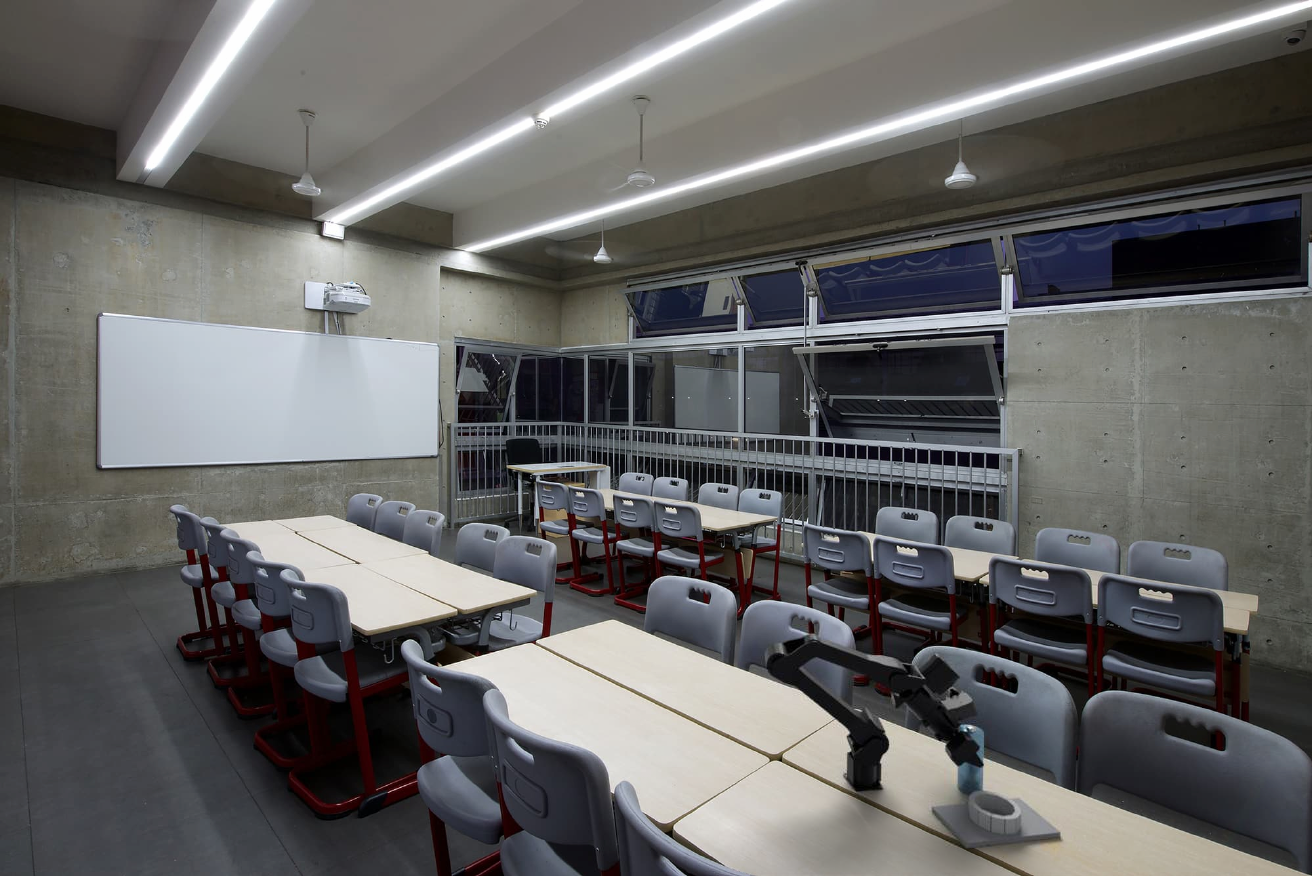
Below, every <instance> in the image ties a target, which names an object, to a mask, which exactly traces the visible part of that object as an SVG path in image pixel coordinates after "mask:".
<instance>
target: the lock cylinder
mask: <svg viewBox="0 0 1312 876" xmlns="http://www.w3.org/2000/svg"><path fill="white" fill-rule="evenodd" d="M958 730H959V731H960V732H968V733H969V734H970V735H971V736H972V737H973V739H974V740H975V741H976V742H977V743H978V745H979V746H980V749H979V751H977V752H976V753H977V754H978V756H979V757H980V759H981V760H982V762H983V763H984V754H985V753H984V750H985V747H984V745H985V731H984V730H983V729H982V728H980V727H979V726H975V725H972V724H962V725H961V726H959V727H958ZM956 780H957V783H956V784H957V788H958V789H959V791H961V792H962V793H964V794H967V795H968V796H969V795H971V794H972V793H973V792H975V791H984V766H983V767H982V768H979V767H976V766H974V765H971V764H969V763H966V762H965V763H964V764H962V765H961V766H957V779H956Z"/></svg>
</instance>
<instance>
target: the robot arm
mask: <svg viewBox="0 0 1312 876" xmlns="http://www.w3.org/2000/svg"><path fill="white" fill-rule="evenodd" d="M764 658H765V664H766V665H765V666H766V670H767V672H768V673H769V675H770V676H771V677H772V678H774V679H776V680H778V681H779V682H781V683H783V684H785V685H788V686H791V687H795V688H796V689H798V690H799V691H800V692H801V693H803V695H805V696H806V697H808V698H809V699H810V700H811V701H813V702H814V703H815V704H816V705H817V706H819V707H820V708H821V709H822V710H824V711H825V712H826V713H828V714H829V716H831V717H832V718H833V719H835V720H836V721H837V722H839V724H841V725H842V726H843V727H844V728H846V730H847V731H848V732H849V733H848V734H847V735H846V739H847V740H846V741H847V743H848V746H849V747H850V751H848V752H846V772H843V773H842V775H843V777H844V778H845V780H846V781H847V782H848V783H849V785H850V786H851V787H852V788H853V790H854V791H856V792H857V793H858V792H866V791H867V792H868V791H877V790H883V789H884V786H883V784H882V783H881V781H882V763H881V761H882V758H883V756H884V755H885V754H886V753H887V752H888V751H889V748H890V740H889V737H888V735H887V733H886V729H885V728H884V726H883V724H882V721H881V719H880V718H879V716H877V715H874V714H873V713H871V711H869V709H868V708H867V707H863V708H862V710H861V711H860V710H857V709H855V708H853V707H852V706H851V705H850V704H848V703H847V702H846V701H845V700H843V699H842V698H841V697H839V696H838V695H837V694H836V693H835V692H833V691H832V690H831V689H830V688H828V687H827V686H826V685H825V684H824V683H822V682H821V681H820V680H819V679H817V678H816V677H815V676H814V675H812V673H810V672H808V671H807V670H806V669H805V668H804V667H803V666H804V665H806V664H807V663H808V662H810V661H811V660H813V659H815V658H817V659H820V660H823V661H826V662H828V663H831V664H833V665H836V666H839V667H841V668H844V669H847V670H849V671H853V672H856V673H858V674H860V675H863V676H865V677H866V678H868V679H870V680H871V681H873V682H874V683H876V684H877V685H878V686H879V687H882V688H883V689H886V690H887V691H888V692H890V693H891V696H890V697H891V698H890V700H891V703H892V705H893V706H894V708H895V709H899V708H900V707H901V706H903V705H905V707H907V708H908V710H910V712H911V713H913V715H915V716H916V717H917V719H919V720H920V723H921V724H922V726H924V727H925V728H927V729H928V730H929V731H931V732H932V734H933V736H934V737H935V738H936V739H937V740H938V742H941V741H945V742H946V744H945V747H944V751H945V753H946V755H947V756H948V757H949V760H951V761H952V763H954V765H956V766H957V767H958V766H961V765H962V764H964V763H965V762H966V763H969V764H971V765H974V766H976V767H979V768H982V767H983V768H984V766H985V763H984V761H983V762H982V760H981V759H980V757H979V756H978V754H977V753H976V752H977V751H979V749H980V746H979V745H978V743H977V742H976V741H975V740H974V739H973V737H972V736H971V735H970V734H969V733H968V732H960V731H959V730H958V727H959V726H961V725H963V724H962V723H961V721H964V720H967V719H969V718H971V717H972V718H973V717H976V716H978V715H979V711H978V709H977V706H976V705H975V702H974V701H973V698H972V697H971V696H970V695H969V693H967V692H964V691H963V690H961V691H959V690H958V689H957V688H955V687H954V685H955V684H956V683H957V682H959V681H960V680H961V679H962V677H961V676H960V675H959V673H958V672H957V671H956V670H955V669H954V668H953V667H952V666H951V665H950V664H949V663H948V662H947V661H946V660H945V659H942V657H941V656H939V655H938V654H937V653H934V654H933V655H932V656H931V657H930V659H929V660H927V662H925V663H924V664H923V665H922V666H921V667H920V668H918V666H917V665H916V664H911V663H906V662H905V663H904V662H901V661H900V660H899V659H897V658H895V657H892V656H885V655H880V654H876V655H874V654H867V653H864V652H861V651H858V650H856V649H852V648H850V647H848V646H845V645H842V644H839V643H837V642H835V641H831V640H829V639H826V638H823V637H820V636H818V635H817V634H815V633H808V634H806V635H803V636H801V637H797V638H792V639H787V640H784V641H783V642H774V643H772V644H770V645H769V646H767V648H766V649H765V651H764ZM924 686H926V687H927V688H928V690H927V688H925V687H924ZM929 691H931V692H932V693H933V694H934V695H936V694H937V695H938V696H941V695H944V694H945V693H946V696H945V700H941V699H940V698H938V697H934V696H933V695H932V694H931V693H930V692H929Z"/></svg>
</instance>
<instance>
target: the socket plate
mask: <svg viewBox="0 0 1312 876" xmlns="http://www.w3.org/2000/svg"><path fill="white" fill-rule="evenodd" d="M931 813H932V814H934V816H936V818H937V819H938V820H939V821H940V822H941V823H942V824H943V825H944V826H945V827H946V828H947V829H948V830H949V832H951V834H952V835H953V836H954V837H955V836H956V837H955V838H956V839H957V840H958V841H959V842H960V843H961V844H962V846H964V848H965V849H972V848H973V849H974V848H981V847H980V846H982V847H987V845H990V846H996V845H1005V844H1007V845H1008V844H1015V843H1022V842H1030V841H1031V842H1033V841H1039V840H1047V839H1048V840H1049V839H1055V838H1061V831H1060V830H1059V829H1057V828H1056V827H1055V826H1054V825H1053V824H1051V823H1050V822H1049V821H1048V820H1047V819H1045V817H1042V815H1040V814H1039V813H1038V812H1037V811H1035V810H1034V808H1032V807H1031V806H1029V805H1028V804H1027V803H1026V802H1025V801H1024V800H1022V799H1021V798H1020V797H1012V798H1010V797H1008V796H1005V795H1004V794H1001V793H998V792H994V791H991V790H983V791H975V792H973V793H972V794H971V795H969V794H968V802H966V803H955V804H946V805H937V806H931Z"/></svg>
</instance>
